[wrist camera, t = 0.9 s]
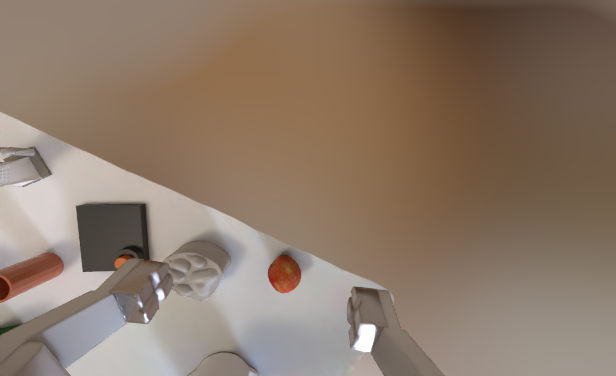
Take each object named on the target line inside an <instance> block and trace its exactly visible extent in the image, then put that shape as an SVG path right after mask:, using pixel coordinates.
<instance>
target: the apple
mask: <svg viewBox="0 0 616 376" xmlns="http://www.w3.org/2000/svg"><path fill="white" fill-rule="evenodd" d="M268 278H269V281H270V283H271V284H272V286H273V287H274V288H275V289H276V290H277V291H278V292H280V293H288V292H290V291H292V290H293V289H295V288H296V287H297V285H298V284H299V282H300V279H301V270H300V268H299V266H298V264H297V263H296V261H295V260H294V259H292V258H291V257H289V256H287V255H281V256H279V257H278V258H276V259H275V260H274V261H273V263H272V264H271V265H270V267H269V269H268Z"/></svg>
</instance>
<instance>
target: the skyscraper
mask: <svg viewBox="0 0 616 376" xmlns="http://www.w3.org/2000/svg"><path fill="white" fill-rule="evenodd" d="M0 154H10V155H12V156H10V157H8V158H6V159H3V160H4V161H5V162H0V187H3V186H16V187H25V186H27V185H29V184H31V183H34V182H36V181H38V180H41V179H43V178H45V177H47V176H50V175H52V174H51V172H50V171H49V169H48V167H47V166H46V164H45V163H44V161H43V159H42V158H41V156H40V155H39V153H38V151H37V150H36V148H35V147H31V148H13V147H9V148H4V147H0Z"/></svg>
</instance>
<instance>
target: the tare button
mask: <svg viewBox="0 0 616 376" xmlns="http://www.w3.org/2000/svg"><path fill="white" fill-rule="evenodd" d="M131 258H132V257H131V256H130V255H123V256H121V257H120V258H118V259H116V261H115V267H116V268H117V269H118V268H119V267H120V266H121V265H122V264H124V263H125V262H126V261H127V260H128V259H131Z"/></svg>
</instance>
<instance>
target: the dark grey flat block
mask: <svg viewBox="0 0 616 376" xmlns="http://www.w3.org/2000/svg"><path fill="white" fill-rule="evenodd" d="M76 211H77V220H78V230H79V239H80V249H81V259H82V268H83V272H93V271H116V270H117V268H116V267H115V261H116V259H118V258H120V257H121V256H123V255H130V256H131V257H132V258H137V259H144V260H149V251H148V237H147V223H146V209H145V204H98V205H79V206H76Z"/></svg>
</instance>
